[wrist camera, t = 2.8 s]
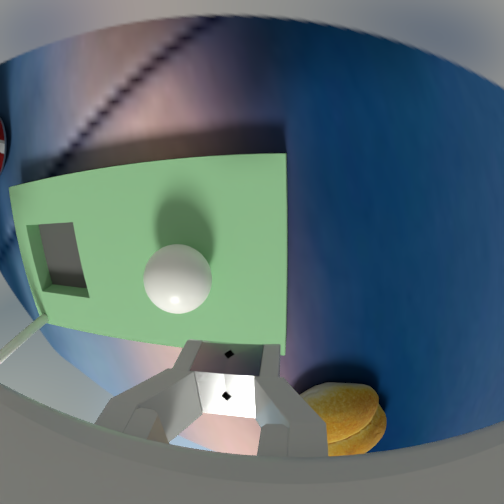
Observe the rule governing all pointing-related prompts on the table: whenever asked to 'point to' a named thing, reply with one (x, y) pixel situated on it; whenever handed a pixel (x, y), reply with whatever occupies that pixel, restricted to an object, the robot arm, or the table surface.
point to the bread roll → (348, 416)
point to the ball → (177, 278)
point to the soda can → (2, 145)
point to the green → (158, 247)
